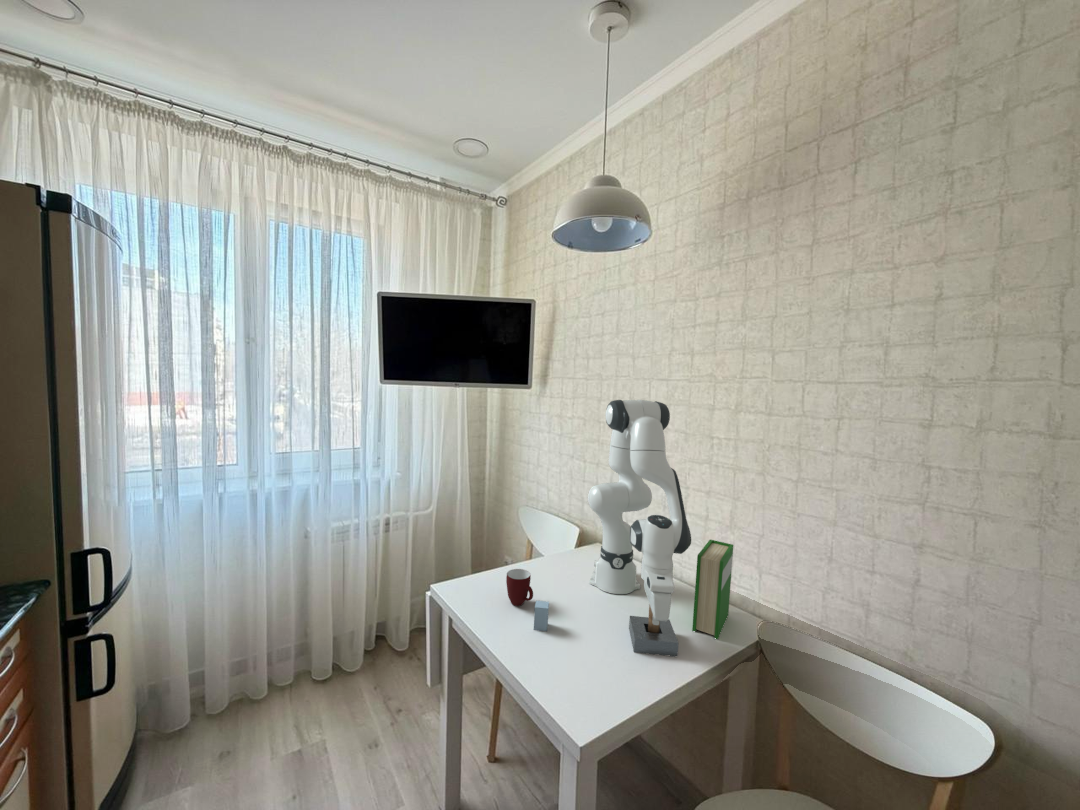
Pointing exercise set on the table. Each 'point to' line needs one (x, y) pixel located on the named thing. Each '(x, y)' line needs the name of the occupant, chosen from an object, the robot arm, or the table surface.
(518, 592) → the mug
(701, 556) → the hardback book
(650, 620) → the round peg
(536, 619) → the square peg
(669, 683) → the table surface
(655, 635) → the socket
